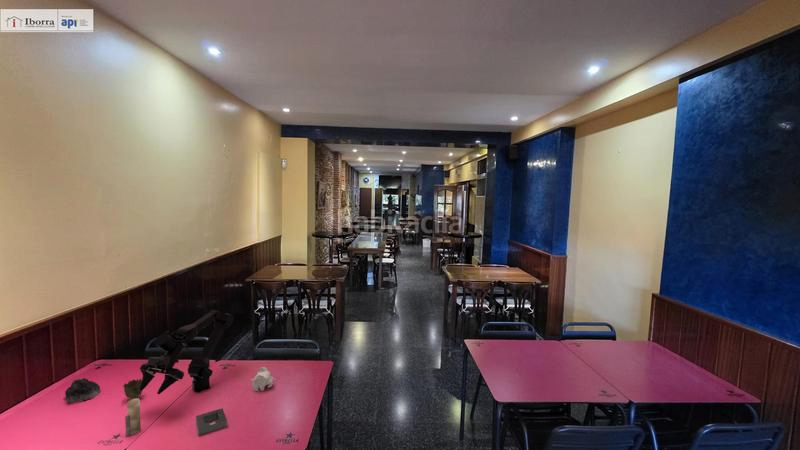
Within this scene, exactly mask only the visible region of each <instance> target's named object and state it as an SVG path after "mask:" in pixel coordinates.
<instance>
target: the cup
mask: <svg viewBox="0 0 800 450" xmlns="http://www.w3.org/2000/svg"><path fill="white" fill-rule="evenodd" d="M141 383H142V379H141V378H140V379H139V378H137V379H132V380H129V381H128V383H124V384H123V390H124V391H123V392H124V395H125V397H127V398H128V399H129V400H128V401H130V400H132V399H140V395H142V393H143V390H142V391H140V386H141Z"/></svg>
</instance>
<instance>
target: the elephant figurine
mask: <svg viewBox="0 0 800 450" xmlns="http://www.w3.org/2000/svg"><path fill="white" fill-rule="evenodd" d="M274 380H275V381H276V378H274V377H273V376H272V375H271V372H270V371H269V370H268V368H267V367H265V366H261V367H260V368H259V369H258V371H257V374H256V375H255V376H254V378H250V381H252V384H251V385H252V390H253V391H254V392H256V391H257V392H264V390H265V387H266V386H267V388H271V387H272V385H275V384H274Z"/></svg>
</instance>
